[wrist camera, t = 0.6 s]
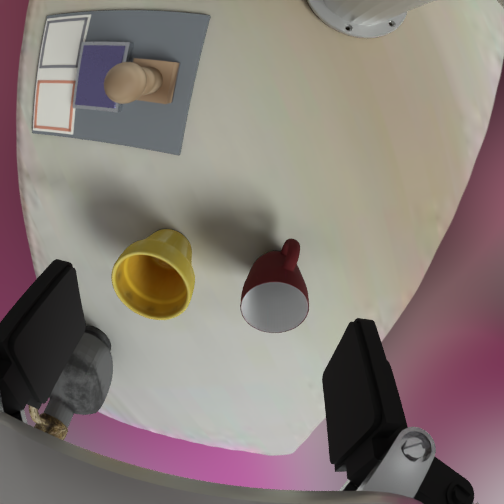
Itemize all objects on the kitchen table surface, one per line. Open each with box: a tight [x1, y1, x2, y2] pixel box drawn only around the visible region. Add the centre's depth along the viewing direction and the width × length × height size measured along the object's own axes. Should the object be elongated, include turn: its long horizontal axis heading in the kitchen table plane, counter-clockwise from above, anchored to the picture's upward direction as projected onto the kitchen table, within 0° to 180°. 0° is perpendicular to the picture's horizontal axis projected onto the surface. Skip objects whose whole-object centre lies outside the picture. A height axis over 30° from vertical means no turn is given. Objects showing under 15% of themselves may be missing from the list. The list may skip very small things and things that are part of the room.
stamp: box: [104, 58, 181, 104], centre depth 28 cm, size 5×5×11 cm
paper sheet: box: [33, 14, 91, 135], centre depth 32 cm, size 17×8×1 cm, turn 167°
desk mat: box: [32, 10, 211, 155], centre depth 33 cm, size 18×24×1 cm
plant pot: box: [112, 229, 195, 320], centre depth 41 cm, size 10×10×10 cm
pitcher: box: [29, 326, 113, 440], centre depth 44 cm, size 11×19×30 cm, turn 168°
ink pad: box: [73, 42, 134, 113], centre depth 32 cm, size 9×7×2 cm
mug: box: [240, 239, 309, 333], centre depth 41 cm, size 10×8×10 cm
